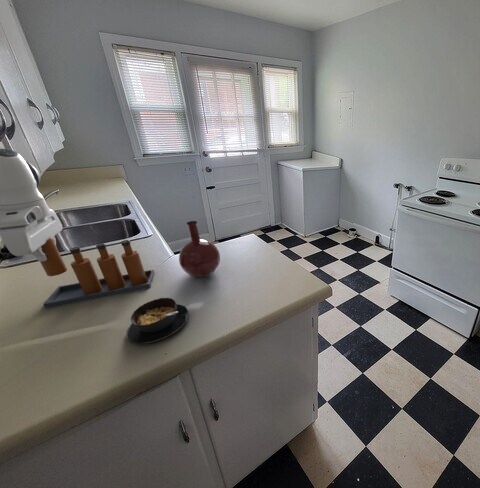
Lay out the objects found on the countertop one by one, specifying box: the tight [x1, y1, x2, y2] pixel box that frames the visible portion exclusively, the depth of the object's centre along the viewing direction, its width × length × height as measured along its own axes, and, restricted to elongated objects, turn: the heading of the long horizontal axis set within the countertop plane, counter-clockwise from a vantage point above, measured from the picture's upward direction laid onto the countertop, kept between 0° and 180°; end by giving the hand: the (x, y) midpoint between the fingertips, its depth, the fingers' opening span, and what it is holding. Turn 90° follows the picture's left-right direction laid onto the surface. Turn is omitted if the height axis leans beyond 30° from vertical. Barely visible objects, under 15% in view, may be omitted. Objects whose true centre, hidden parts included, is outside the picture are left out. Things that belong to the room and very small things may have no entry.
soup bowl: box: [126, 297, 190, 345], centre depth 71 cm, size 15×16×7 cm
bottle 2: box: [95, 242, 125, 290], centre depth 87 cm, size 5×5×16 cm
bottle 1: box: [69, 246, 102, 295], centre depth 84 cm, size 5×5×16 cm
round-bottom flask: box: [178, 220, 221, 278], centre depth 94 cm, size 13×13×20 cm
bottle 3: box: [120, 239, 148, 286], centre depth 89 cm, size 5×5×16 cm
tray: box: [42, 269, 156, 309], centre depth 89 cm, size 27×10×2 cm, turn 113°
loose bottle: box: [40, 237, 68, 277], centre depth 79 cm, size 5×5×16 cm
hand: (48, 256), depth 80 cm, fingers closed on loose bottle, 4 cm apart
